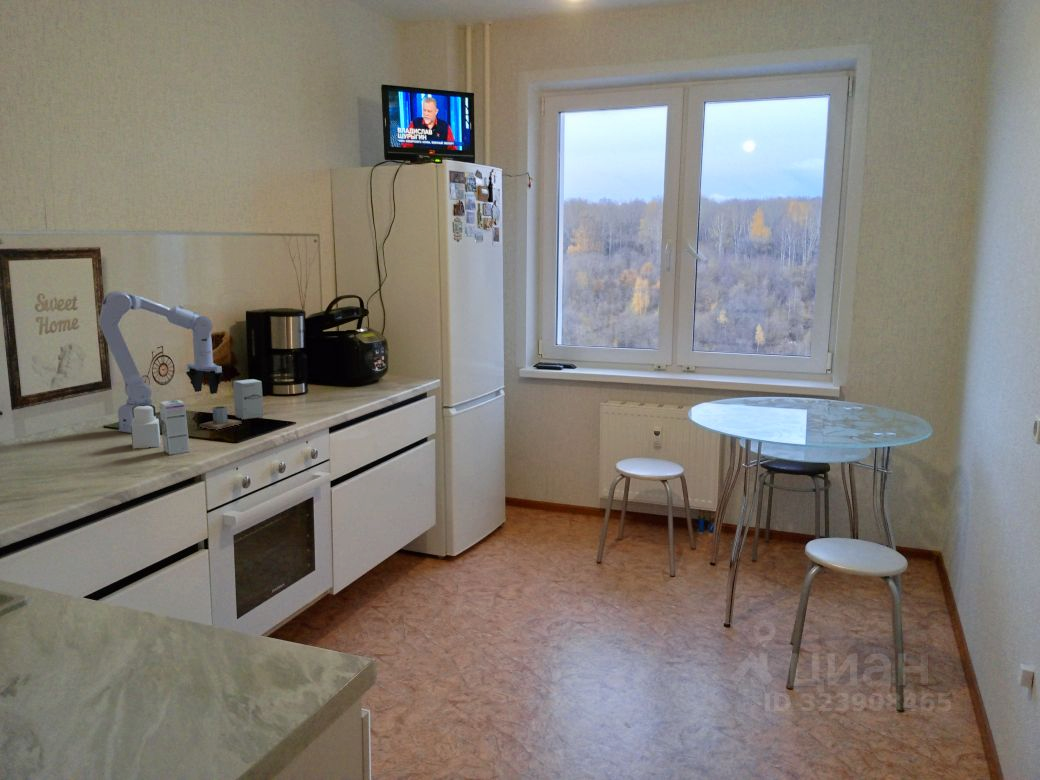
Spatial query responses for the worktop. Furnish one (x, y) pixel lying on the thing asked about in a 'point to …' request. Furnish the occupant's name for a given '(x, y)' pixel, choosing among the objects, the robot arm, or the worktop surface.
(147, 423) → the medicine bottle
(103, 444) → the worktop surface
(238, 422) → the shaft block
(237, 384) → the supplement box
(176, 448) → the syrup box
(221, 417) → the tube
